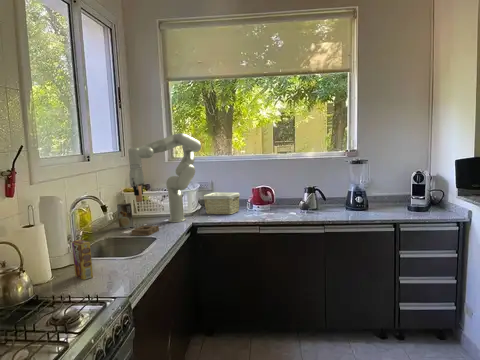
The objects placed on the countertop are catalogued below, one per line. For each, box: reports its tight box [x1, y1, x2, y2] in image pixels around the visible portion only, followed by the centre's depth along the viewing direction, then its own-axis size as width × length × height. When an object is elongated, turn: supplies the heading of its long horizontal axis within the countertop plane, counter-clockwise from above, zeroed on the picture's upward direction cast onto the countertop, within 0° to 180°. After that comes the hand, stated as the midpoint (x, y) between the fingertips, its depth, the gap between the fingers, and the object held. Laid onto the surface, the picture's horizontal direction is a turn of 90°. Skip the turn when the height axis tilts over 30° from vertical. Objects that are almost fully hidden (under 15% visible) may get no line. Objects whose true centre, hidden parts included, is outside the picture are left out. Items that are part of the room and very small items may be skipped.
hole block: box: [130, 225, 160, 236], centre depth 231 cm, size 12×12×3 cm
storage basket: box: [203, 192, 241, 215], centre depth 282 cm, size 24×16×15 cm
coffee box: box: [116, 202, 134, 229], centre depth 250 cm, size 9×6×16 cm
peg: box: [135, 186, 143, 203], centre depth 242 cm, size 4×4×10 cm
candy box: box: [71, 239, 94, 281], centre depth 156 cm, size 9×4×15 cm, turn 47°
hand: (138, 194), depth 242 cm, fingers closed on peg, 4 cm apart
